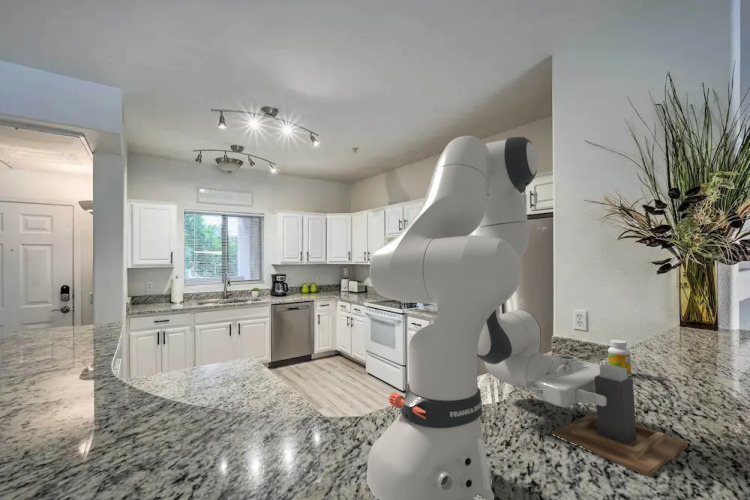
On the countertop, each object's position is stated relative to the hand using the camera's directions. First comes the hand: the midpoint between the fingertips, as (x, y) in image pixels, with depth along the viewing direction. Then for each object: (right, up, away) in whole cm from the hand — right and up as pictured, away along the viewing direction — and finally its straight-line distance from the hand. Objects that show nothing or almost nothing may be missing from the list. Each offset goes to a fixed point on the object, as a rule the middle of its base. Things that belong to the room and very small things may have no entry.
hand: (619, 395), depth 66 cm
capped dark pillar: (0, -8, 0) cm, 8 cm away
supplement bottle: (+26, -10, +38) cm, 47 cm away
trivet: (0, -9, 0) cm, 9 cm away
